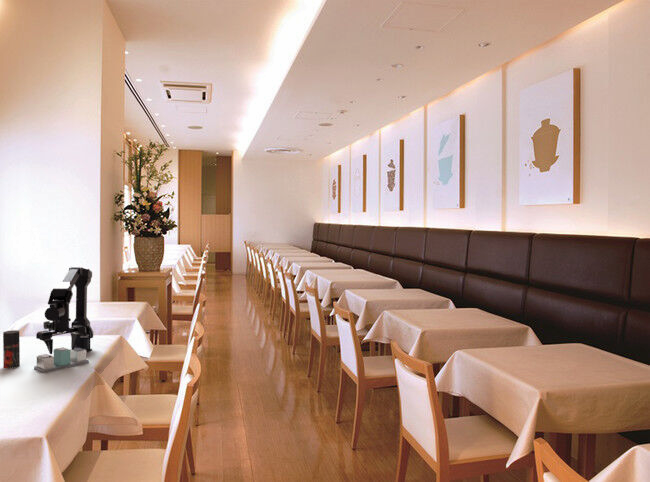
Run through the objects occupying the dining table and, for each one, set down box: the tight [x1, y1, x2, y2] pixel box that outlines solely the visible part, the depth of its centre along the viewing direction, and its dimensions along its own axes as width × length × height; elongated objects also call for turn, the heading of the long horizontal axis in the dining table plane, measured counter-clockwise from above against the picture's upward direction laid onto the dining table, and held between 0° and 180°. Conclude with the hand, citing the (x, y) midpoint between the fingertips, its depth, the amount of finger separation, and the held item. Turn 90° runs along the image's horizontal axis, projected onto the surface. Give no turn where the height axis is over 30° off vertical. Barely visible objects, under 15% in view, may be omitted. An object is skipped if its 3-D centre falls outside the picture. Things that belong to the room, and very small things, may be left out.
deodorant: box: [2, 329, 21, 369], centre depth 214 cm, size 6×6×15 cm
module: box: [53, 346, 71, 366], centre depth 216 cm, size 4×6×6 cm, turn 54°
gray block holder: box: [33, 348, 90, 374], centre depth 216 cm, size 19×9×6 cm, turn 144°
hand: (61, 352), depth 216 cm, fingers open, 9 cm apart
